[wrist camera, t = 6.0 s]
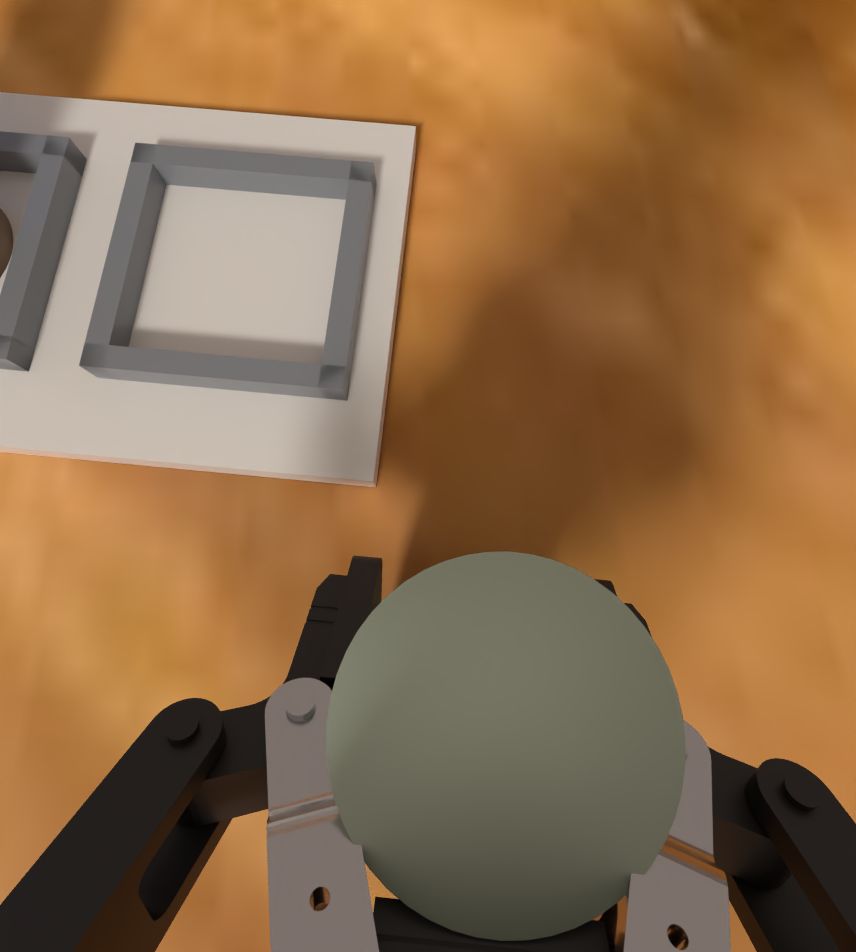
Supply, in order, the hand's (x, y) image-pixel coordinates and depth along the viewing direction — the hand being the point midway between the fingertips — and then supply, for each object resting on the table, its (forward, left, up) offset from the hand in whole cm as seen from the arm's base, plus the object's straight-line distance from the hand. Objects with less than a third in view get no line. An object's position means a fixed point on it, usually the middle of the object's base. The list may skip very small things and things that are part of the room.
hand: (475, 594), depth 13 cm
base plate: (+4, -17, -4) cm, 18 cm away
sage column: (+1, +1, -4) cm, 5 cm away
